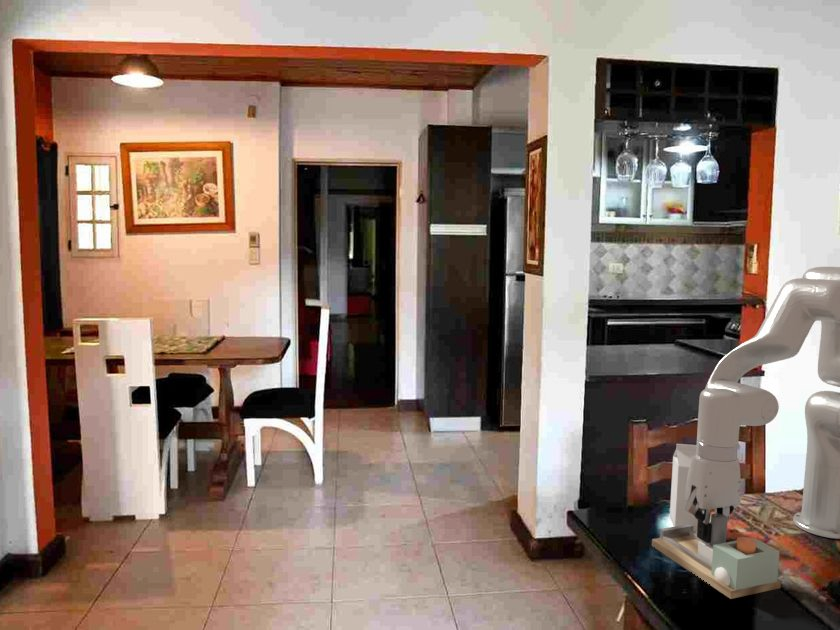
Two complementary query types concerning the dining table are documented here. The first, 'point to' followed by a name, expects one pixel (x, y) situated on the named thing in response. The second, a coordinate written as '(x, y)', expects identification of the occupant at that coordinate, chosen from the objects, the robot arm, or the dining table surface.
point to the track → (696, 558)
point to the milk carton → (681, 486)
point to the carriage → (714, 536)
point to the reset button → (746, 545)
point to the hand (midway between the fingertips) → (710, 538)
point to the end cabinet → (745, 566)
